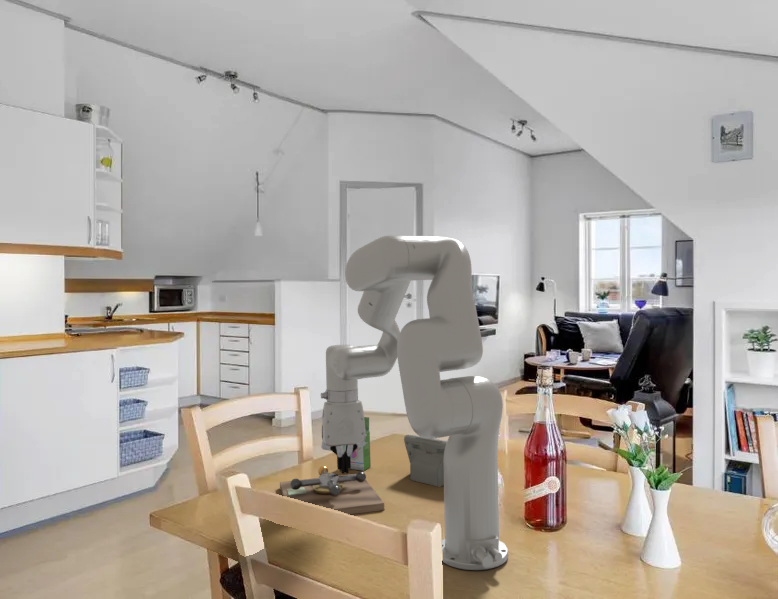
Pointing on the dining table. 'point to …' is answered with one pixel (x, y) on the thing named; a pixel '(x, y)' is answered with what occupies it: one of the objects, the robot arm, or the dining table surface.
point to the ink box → (361, 452)
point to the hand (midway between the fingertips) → (344, 471)
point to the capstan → (327, 482)
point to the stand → (339, 497)
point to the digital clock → (426, 459)
